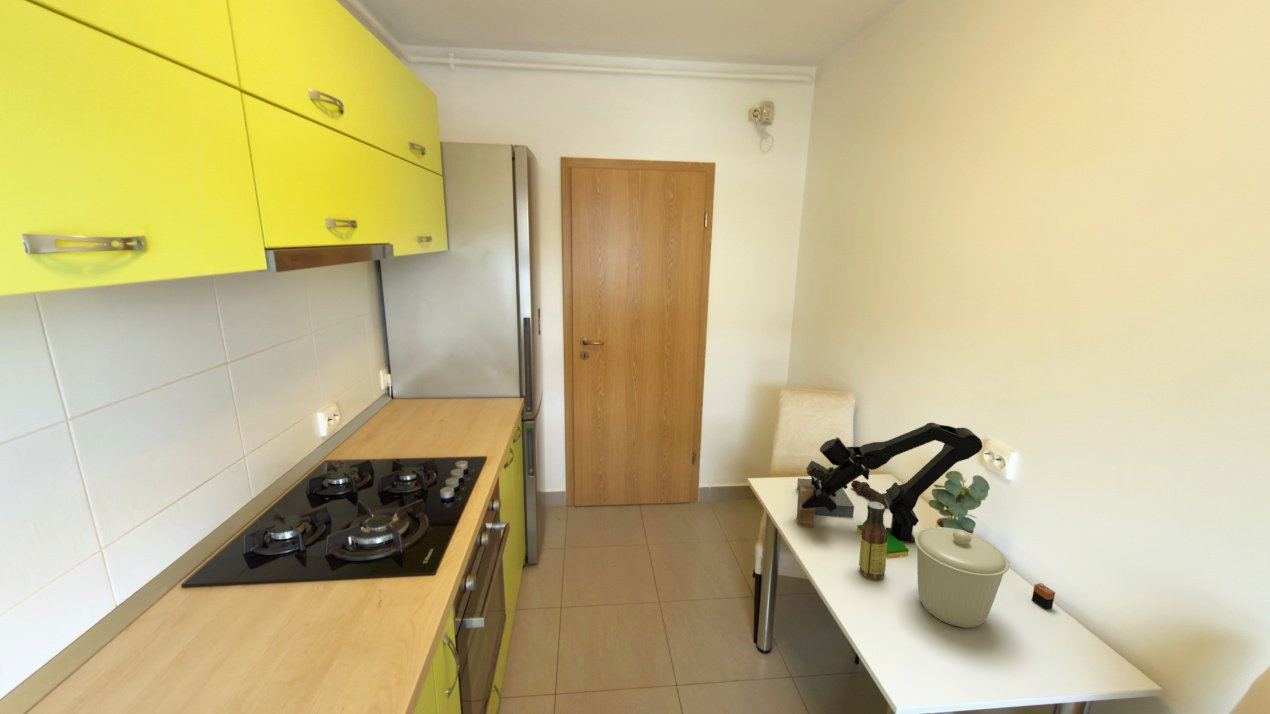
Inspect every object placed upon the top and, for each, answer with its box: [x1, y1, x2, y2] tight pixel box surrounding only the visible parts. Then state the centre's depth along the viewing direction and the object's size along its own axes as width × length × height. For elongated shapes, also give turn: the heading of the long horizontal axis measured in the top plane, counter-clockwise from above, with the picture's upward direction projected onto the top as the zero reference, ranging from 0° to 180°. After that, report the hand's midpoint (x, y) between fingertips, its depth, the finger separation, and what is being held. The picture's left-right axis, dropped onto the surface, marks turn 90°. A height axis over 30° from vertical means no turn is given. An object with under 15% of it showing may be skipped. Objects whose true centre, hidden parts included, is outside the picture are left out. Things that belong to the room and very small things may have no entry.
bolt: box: [850, 479, 889, 510], centre depth 164 cm, size 6×5×15 cm
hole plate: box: [796, 477, 855, 519], centre depth 161 cm, size 18×14×4 cm
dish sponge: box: [856, 524, 910, 559], centre depth 139 cm, size 7×14×2 cm, turn 9°
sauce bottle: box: [858, 501, 887, 581], centre depth 124 cm, size 7×6×20 cm
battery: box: [1031, 582, 1056, 610], centre depth 114 cm, size 2×3×5 cm, turn 12°
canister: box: [914, 526, 1010, 629], centre depth 110 cm, size 18×18×21 cm
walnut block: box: [795, 484, 816, 528], centre depth 148 cm, size 4×4×12 cm
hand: (801, 503), depth 148 cm, fingers closed on walnut block, 5 cm apart
